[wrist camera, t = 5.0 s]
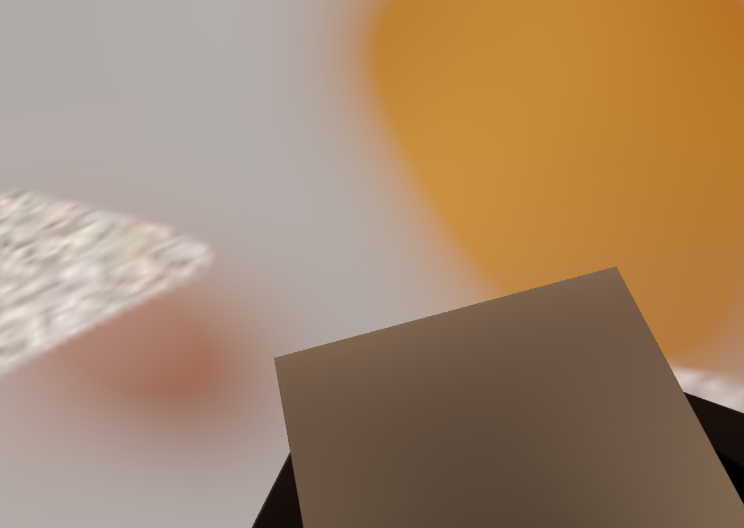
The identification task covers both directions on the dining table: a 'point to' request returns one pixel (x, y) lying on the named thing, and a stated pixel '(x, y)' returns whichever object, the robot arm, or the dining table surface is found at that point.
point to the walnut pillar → (503, 421)
